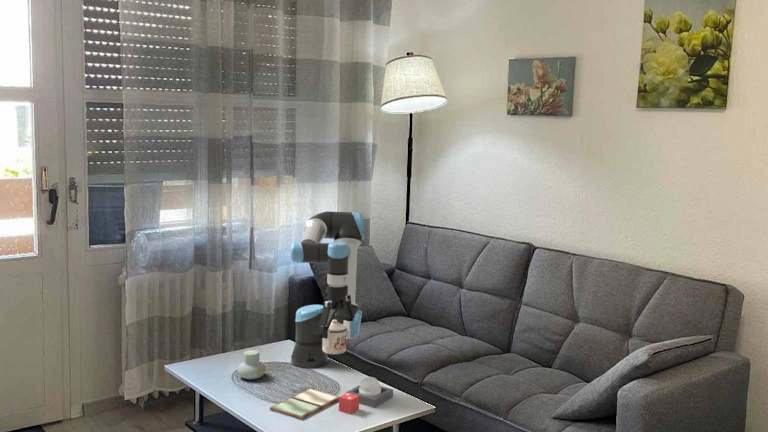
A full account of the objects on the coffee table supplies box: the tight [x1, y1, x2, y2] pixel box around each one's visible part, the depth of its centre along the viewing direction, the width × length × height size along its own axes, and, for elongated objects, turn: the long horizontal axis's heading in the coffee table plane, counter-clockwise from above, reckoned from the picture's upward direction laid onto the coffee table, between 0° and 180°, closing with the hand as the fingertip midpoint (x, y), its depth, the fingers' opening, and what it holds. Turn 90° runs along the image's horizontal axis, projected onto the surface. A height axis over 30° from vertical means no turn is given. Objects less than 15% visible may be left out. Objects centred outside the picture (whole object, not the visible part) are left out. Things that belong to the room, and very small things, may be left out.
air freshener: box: [236, 349, 267, 380], centre depth 286 cm, size 11×8×10 cm
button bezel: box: [345, 384, 394, 409], centre depth 267 cm, size 12×12×3 cm
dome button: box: [359, 376, 381, 398], centre depth 267 cm, size 8×8×7 cm
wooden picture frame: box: [269, 388, 340, 421], centre depth 261 cm, size 22×14×1 cm, turn 147°
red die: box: [338, 393, 360, 415], centre depth 256 cm, size 5×5×5 cm
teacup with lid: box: [322, 320, 347, 355], centre depth 272 cm, size 12×9×12 cm
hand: (336, 342), depth 273 cm, fingers closed on teacup with lid, 12 cm apart
